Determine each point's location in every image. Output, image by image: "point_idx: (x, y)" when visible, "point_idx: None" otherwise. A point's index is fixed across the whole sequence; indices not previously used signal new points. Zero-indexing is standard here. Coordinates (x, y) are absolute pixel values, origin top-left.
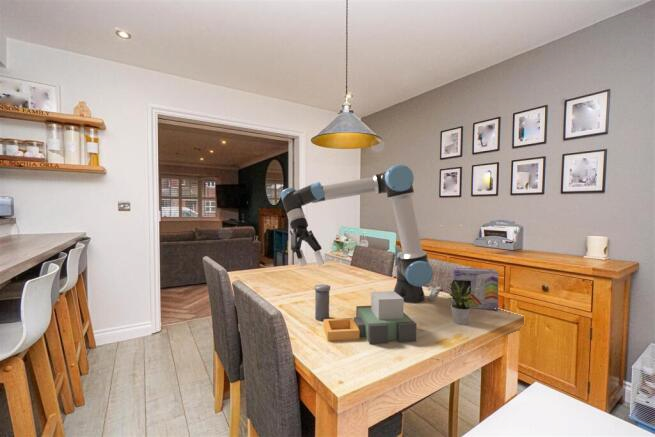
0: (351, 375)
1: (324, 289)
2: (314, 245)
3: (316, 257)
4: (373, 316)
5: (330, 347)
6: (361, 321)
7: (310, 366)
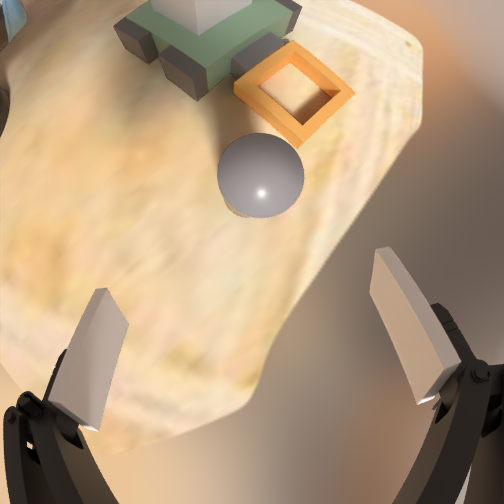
0: (389, 35)
1: (284, 142)
2: (76, 471)
3: (106, 378)
4: (240, 15)
5: (361, 85)
6: (257, 44)
7: (420, 90)
